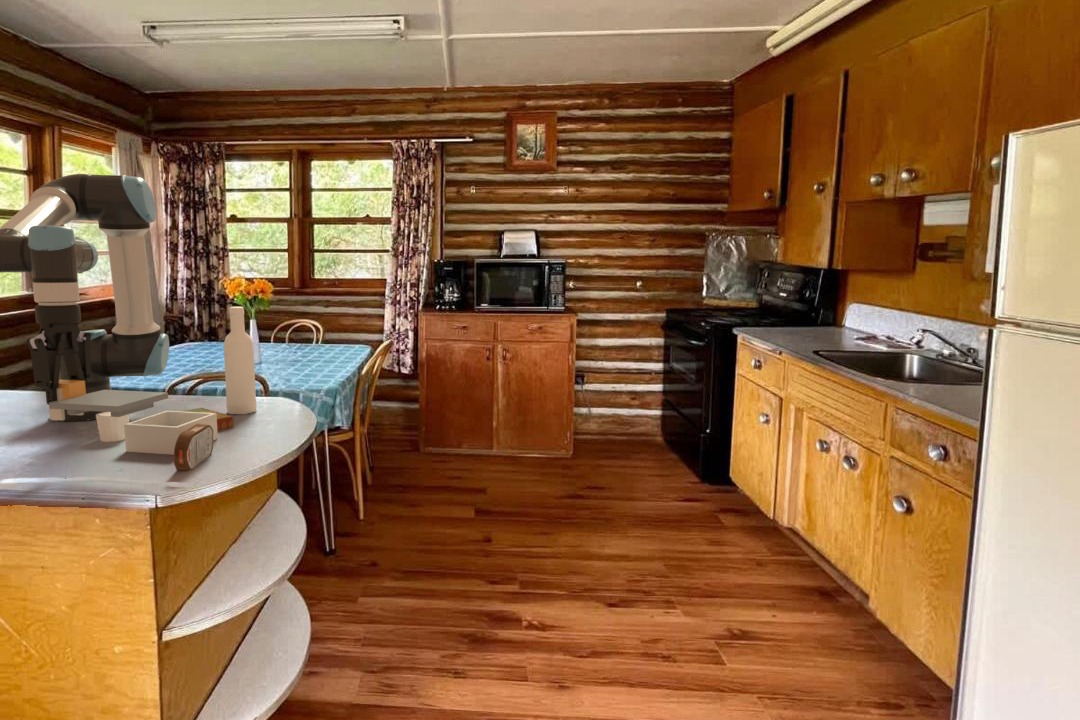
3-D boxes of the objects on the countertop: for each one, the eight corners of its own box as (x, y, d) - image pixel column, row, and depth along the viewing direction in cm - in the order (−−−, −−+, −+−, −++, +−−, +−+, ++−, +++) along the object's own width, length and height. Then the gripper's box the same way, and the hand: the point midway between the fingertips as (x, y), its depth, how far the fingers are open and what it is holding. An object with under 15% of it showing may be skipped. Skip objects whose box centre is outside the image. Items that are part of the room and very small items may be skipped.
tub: (126, 454, 153) (124, 424, 152) (168, 438, 167) (167, 410, 166) (179, 458, 151) (177, 427, 150) (217, 441, 165) (216, 413, 164)
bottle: (233, 408, 200) (228, 305, 196) (260, 408, 200) (256, 306, 196) (222, 414, 192) (216, 307, 188) (250, 415, 193) (245, 308, 188)
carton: (202, 438, 169) (201, 421, 169) (171, 427, 179) (170, 411, 178) (234, 431, 176) (233, 415, 175) (203, 421, 186) (202, 406, 185)
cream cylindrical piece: (100, 439, 166) (98, 411, 164) (133, 437, 168) (131, 409, 167) (95, 446, 159) (92, 417, 158) (129, 444, 162) (127, 415, 161)
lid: (82, 400, 148) (80, 375, 147) (168, 405, 145) (167, 379, 144) (25, 414, 135) (22, 387, 134) (118, 420, 132) (116, 391, 131)
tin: (202, 455, 154) (200, 419, 153) (217, 455, 154) (215, 419, 153) (173, 477, 139) (170, 436, 138) (189, 477, 139) (186, 436, 138)
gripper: (75, 300, 147) (84, 407, 150) (2, 305, 130) (13, 425, 134) (106, 301, 146) (114, 409, 149) (36, 306, 129) (47, 427, 132)
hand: (67, 416), depth 141 cm, fingers closed on lid, 4 cm apart
